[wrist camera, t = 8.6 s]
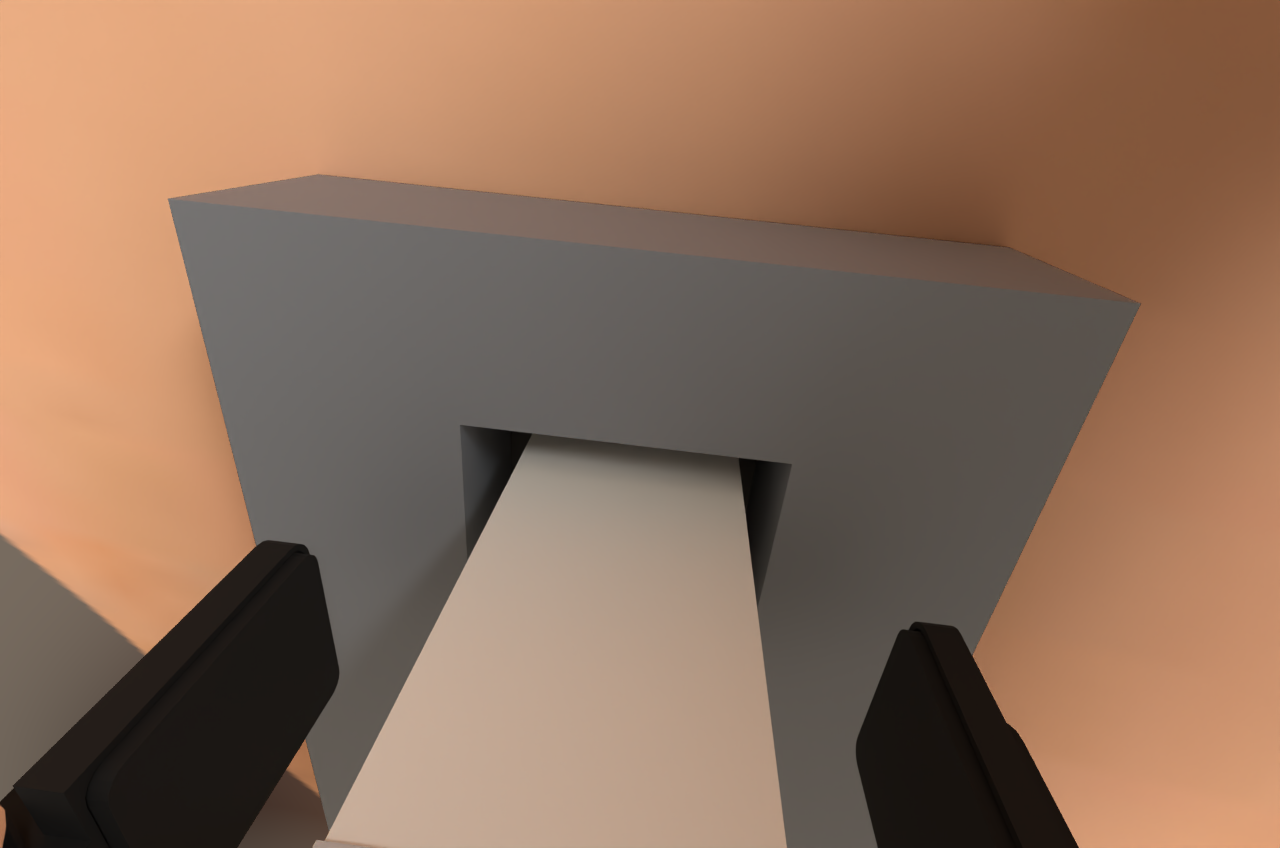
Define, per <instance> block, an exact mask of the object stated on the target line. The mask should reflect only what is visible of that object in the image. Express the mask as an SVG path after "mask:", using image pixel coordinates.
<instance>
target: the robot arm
mask: <svg viewBox="0 0 1280 848" xmlns="http://www.w3.org/2000/svg"><path fill="white" fill-rule="evenodd" d="M339 673H340V672H339V665H338V660H337V655H336V650H335V645H334V640H333V635H332V630H331V624H330V619H329V614H328V609H327V604H326V599H325V594H324V589H323V584H322V579H321V574H320V569H319V564H318V560H317V558H316V557H315V556H314V555H310V553H309V550H308V548H307V547H306V546H305V545H303V544H297V543H289V542H281V541H273V540H266V541H262V542H261V543H260V544H258V545H257V546H256V547H255V548H254V549H253V550H252V551H251V552H250V553H249V554H248V555H247V556H246V557H245V558H244V559H243V560H242V561H241V562H240V563H239V564H238V565H237V566H236V567H235V568H234V569H233V570H232V571H231V572H230V573H229V574H228V575H227V576H226V577H225V578H224V579H222V580H221V581H220V582H219V583H218V584H217V585H216V586H215V587H214V588H213V589H212V590H211V591H210V592H209V593H208V594H207V595H206V596H205V597H204V598H203V599H202V600H201V601H200V602H199V603H198V604H197V605H196V606H195V607H194V608H193V609H192V610H191V611H190V612H189V613H188V614H187V615H186V616H185V617H184V618H183V619H182V620H181V621H180V622H179V623H178V624H177V625H176V626H175V627H174V628H173V629H172V630H171V631H170V632H169V633H168V634H167V635H166V636H165V637H164V638H163V639H162V640H161V641H159V642H158V643H157V644H156V645H155V646H154V647H153V648H152V649H151V650H150V651H149V652H148V653H147V654H146V655H145V656H144V657H143V658H142V659H141V660H140V661H139V662H138V663H137V664H136V665H135V666H134V667H133V668H132V669H131V670H130V671H129V672H128V673H127V674H126V675H125V676H124V677H123V678H122V679H121V680H120V681H119V682H118V683H117V684H116V685H115V686H114V687H113V688H112V689H111V690H110V691H109V692H108V693H107V694H106V695H105V696H104V697H103V698H102V699H101V700H100V701H99V702H98V703H97V704H96V705H95V706H94V707H92V708H91V710H89V711H88V712H87V713H86V714H85V715H84V716H83V717H82V718H81V719H80V720H79V721H78V722H77V724H75V725H74V726H73V727H72V728H71V729H70V730H69V731H68V732H67V733H66V734H65V735H64V736H63V737H62V738H61V739H60V740H59V741H58V742H57V743H56V744H55V745H54V746H53V747H52V748H51V749H50V750H49V751H48V752H47V753H46V754H45V755H44V756H43V757H42V758H41V759H40V760H39V761H38V762H37V763H36V764H35V765H33V766H32V768H31V769H29V770H28V771H27V772H26V773H25V774H24V775H23V776H22V777H21V779H19V780H18V781H17V782H16V783H15V784H14V785H13V787H14V789H13V790H12V791H11V792H10V793H8V794H7V796H6V797H4V799H2V800H1V802H0V848H237V847H238V846H239V844H240V842H241V841H242V839H243V838H244V836H245V834H246V833H247V831H248V830H249V828H250V826H251V825H252V823H253V822H254V820H255V818H256V816H257V815H258V814H259V812H260V810H261V809H262V807H263V806H264V804H265V802H266V801H267V799H268V798H269V796H270V794H271V793H272V791H273V790H274V788H275V786H276V785H277V783H278V781H279V780H280V778H281V777H282V775H283V773H284V772H285V770H286V769H287V767H288V766H289V764H290V762H291V761H292V759H293V758H294V756H295V754H296V753H297V751H298V750H299V748H300V746H301V745H302V743H303V742H304V740H305V738H306V737H307V735H308V734H309V732H310V730H311V729H312V727H313V726H314V724H315V722H316V721H317V719H318V718H319V716H320V714H321V713H322V711H323V710H324V708H325V706H326V705H327V703H328V702H329V700H330V698H331V697H332V695H333V693H334V691H335V689H336V687H337V684H338V680H339ZM856 761H857V766H858V770H859V774H860V778H861V782H862V786H863V791H864V795H865V799H866V803H867V807H868V811H869V815H870V819H871V823H872V827H873V831H874V835H875V839H876V843H877V847H878V848H1079V847H1078V845H1077V843H1076V841H1075V839H1074V837H1073V836H1072V834H1071V832H1070V830H1069V828H1068V826H1067V824H1066V822H1065V820H1064V818H1063V816H1062V814H1061V813H1060V811H1059V809H1058V807H1057V805H1056V803H1055V801H1054V799H1053V797H1052V795H1051V793H1050V792H1049V790H1048V788H1047V786H1046V784H1045V782H1044V780H1043V778H1042V776H1041V774H1040V772H1039V770H1038V769H1037V767H1036V765H1035V763H1034V761H1033V759H1032V757H1031V755H1030V753H1029V751H1028V749H1027V747H1026V746H1025V744H1024V742H1023V740H1022V739H1021V737H1020V736H1019V734H1018V733H1017V731H1016V730H1015V729H1014V728H1012V727H1011V726H1010V725H1009V724H1007V723H1006V721H1005V719H1004V717H1003V715H1002V713H1001V711H1000V709H999V707H998V706H997V704H996V702H995V700H994V698H993V696H992V694H991V692H990V690H989V688H988V686H987V684H986V682H985V680H984V678H983V676H982V674H981V672H980V670H979V668H978V666H977V664H976V662H975V660H974V658H973V656H972V655H971V653H970V651H969V649H968V647H967V645H966V643H965V641H964V639H963V637H962V635H961V633H960V632H959V630H958V629H957V628H955V627H954V626H950V625H942V624H934V623H926V622H914V623H913V624H911V626H910V628H909V630H905V629H902V630H900V631H899V633H898V635H897V637H896V640H895V642H894V645H893V648H892V650H891V653H890V655H889V658H888V660H887V663H886V665H885V668H884V671H883V673H882V676H881V678H880V681H879V683H878V686H877V688H876V691H875V694H874V696H873V699H872V701H871V704H870V706H869V709H868V711H867V714H866V717H865V719H864V722H863V724H862V727H861V729H860V732H859V734H858V737H857V741H856Z"/></svg>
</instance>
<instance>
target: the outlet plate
mask: <svg viewBox="0 0 1280 848" xmlns="http://www.w3.org/2000/svg"><path fill="white" fill-rule="evenodd" d="M168 201H169V205H170V209H171V213H172V217H173V221H174V224H175V228H176V232H177V236H178V240H179V244H180V248H181V252H182V256H183V260H184V264H185V268H186V272H187V276H188V279H189V283H190V287H191V291H192V295H193V299H194V303H195V307H196V311H197V315H198V319H199V323H200V327H201V331H202V334H203V338H204V342H205V346H206V350H207V354H208V358H209V362H210V366H211V370H212V374H213V378H214V382H215V386H216V390H217V393H218V397H219V401H220V405H221V409H222V413H223V417H224V421H225V425H226V429H227V433H228V437H229V441H230V445H231V448H232V452H233V456H234V460H235V464H236V468H237V472H238V476H239V480H240V484H241V488H242V492H243V496H244V500H245V503H246V507H247V511H248V515H249V519H250V523H251V527H252V531H253V535H254V539H255V543H256V546H257V545H258V544H260V543H261V542H262V541H266V540H273V541H281V542H289V543H297V544H303V545H305V546H306V547H307V548H308V550H309V553H310V555H314V556H315V557H316V558H317V560H318V564H319V569H320V574H321V579H322V584H323V589H324V594H325V599H326V604H327V609H328V614H329V619H330V624H331V630H332V635H333V640H334V645H335V650H336V655H337V660H338V665H339V672H340V673H339V680H338V684H337V687H336V689H335V691H334V693H333V695H332V697H331V698H330V700H329V702H328V703H327V705H326V706H325V708H324V710H323V711H322V713H321V714H320V716H319V718H318V719H317V721H316V722H315V724H314V726H313V727H312V729H311V730H310V732H309V734H308V735H307V737H306V738H305V739H306V743H307V747H308V751H309V755H310V759H311V763H312V767H313V771H314V775H315V778H316V782H317V786H318V790H319V794H320V798H321V802H322V806H323V810H324V814H325V818H326V822H327V825H328V830H329V831H330V829H331V827H332V825H333V823H334V821H335V819H336V818H337V816H338V814H339V812H340V810H341V808H342V806H343V804H344V802H345V800H346V798H347V796H348V794H349V792H350V790H351V788H352V786H353V784H354V782H355V780H356V778H357V776H358V774H359V772H360V771H361V769H362V767H363V765H364V763H365V761H366V759H367V757H368V755H369V753H370V751H371V749H372V747H373V745H374V743H375V741H376V739H377V737H378V735H379V733H380V731H381V729H382V727H383V725H384V723H385V722H386V720H387V718H388V716H389V714H390V712H391V710H392V708H393V706H394V704H395V702H396V700H397V698H398V696H399V694H400V692H401V690H402V688H403V686H404V684H405V682H406V680H407V678H408V676H409V675H410V673H411V671H412V669H413V667H414V665H415V663H416V661H417V659H418V657H419V655H420V653H421V651H422V649H423V647H424V645H425V643H426V641H427V639H428V637H429V635H430V633H431V631H432V629H433V628H434V626H435V624H436V622H437V620H438V618H439V616H440V614H441V612H442V610H443V608H444V606H445V604H446V602H447V600H448V598H449V596H450V594H451V592H452V590H453V588H454V586H455V584H456V582H457V581H458V579H459V577H460V575H461V573H462V571H463V569H464V567H465V565H466V563H467V561H468V559H469V557H470V555H471V553H472V551H473V549H474V547H475V545H476V543H477V541H478V539H479V537H480V535H481V533H482V532H483V530H484V528H485V526H486V524H487V522H488V520H489V518H490V516H491V514H492V512H493V510H494V508H495V506H496V504H497V502H498V500H499V498H500V496H501V494H502V492H503V490H504V488H505V486H506V485H507V483H508V481H509V479H510V477H511V475H512V473H513V471H514V469H515V467H516V465H517V463H518V461H519V459H520V457H521V455H522V453H523V451H524V449H525V447H526V445H527V443H528V441H529V439H530V438H531V436H532V434H533V433H534V434H542V435H551V436H559V437H568V438H576V439H585V440H593V441H601V442H610V443H618V444H627V445H635V446H644V447H652V448H661V449H669V450H678V451H686V452H694V453H703V454H711V455H720V456H728V457H737V458H739V466H740V474H741V482H742V490H743V498H744V506H745V514H746V522H747V530H748V538H749V547H750V555H751V563H752V571H753V579H754V587H755V595H756V603H757V611H758V619H759V627H760V635H761V643H762V651H763V659H764V668H765V676H766V684H767V692H768V700H769V708H770V716H771V724H772V732H773V740H774V748H775V756H776V764H777V772H778V780H779V789H780V797H781V805H782V813H783V821H784V829H785V837H786V845H787V848H878V847H877V843H876V839H875V835H874V831H873V827H872V823H871V819H870V815H869V811H868V807H867V803H866V799H865V795H864V791H863V786H862V782H861V778H860V774H859V770H858V766H857V761H856V741H857V737H858V734H859V732H860V729H861V727H862V724H863V722H864V719H865V717H866V714H867V711H868V709H869V706H870V704H871V701H872V699H873V696H874V694H875V691H876V688H877V686H878V683H879V681H880V678H881V676H882V673H883V671H884V668H885V665H886V663H887V660H888V658H889V655H890V653H891V650H892V648H893V645H894V642H895V640H896V637H897V635H898V633H899V631H900V630H902V629H905V630H909V628H910V626H911V624H913V623H914V622H926V623H934V624H942V625H950V626H954V627H955V628H957V629H958V630H959V632H960V633H961V635H962V637H963V639H964V641H965V643H966V645H967V647H968V649H969V651H970V653H971V655H973V653H974V651H975V649H976V646H977V644H978V642H979V640H980V638H981V636H982V634H983V632H984V630H985V628H986V626H987V624H988V621H989V619H990V617H991V615H992V613H993V611H994V609H995V607H996V605H997V603H998V601H999V599H1000V596H1001V594H1002V592H1003V590H1004V588H1005V586H1006V584H1007V582H1008V580H1009V578H1010V576H1011V573H1012V571H1013V569H1014V567H1015V565H1016V563H1017V561H1018V559H1019V557H1020V555H1021V553H1022V551H1023V548H1024V546H1025V544H1026V542H1027V540H1028V538H1029V536H1030V534H1031V532H1032V530H1033V528H1034V526H1035V523H1036V521H1037V519H1038V517H1039V515H1040V513H1041V511H1042V509H1043V507H1044V505H1045V503H1046V501H1047V498H1048V496H1049V494H1050V492H1051V490H1052V488H1053V486H1054V484H1055V482H1056V480H1057V478H1058V475H1059V473H1060V471H1061V469H1062V467H1063V465H1064V463H1065V461H1066V459H1067V457H1068V455H1069V453H1070V450H1071V448H1072V446H1073V444H1074V442H1075V440H1076V438H1077V436H1078V434H1079V432H1080V430H1081V428H1082V425H1083V423H1084V421H1085V419H1086V417H1087V415H1088V413H1089V411H1090V409H1091V407H1092V405H1093V402H1094V400H1095V398H1096V396H1097V394H1098V392H1099V390H1100V388H1101V386H1102V384H1103V382H1104V380H1105V377H1106V375H1107V373H1108V371H1109V369H1110V367H1111V365H1112V363H1113V361H1114V359H1115V357H1116V355H1117V352H1118V350H1119V348H1120V346H1121V344H1122V342H1123V340H1124V338H1125V336H1126V334H1127V332H1128V330H1129V327H1130V325H1131V323H1132V321H1133V319H1134V317H1135V315H1136V313H1137V311H1138V309H1139V307H1140V304H1141V303H1138V302H1136V301H1134V300H1131V299H1129V298H1126V297H1124V296H1122V295H1119V294H1117V293H1115V292H1112V291H1110V290H1108V289H1105V288H1103V287H1101V286H1098V285H1096V284H1094V283H1091V282H1089V281H1087V280H1084V279H1082V278H1080V277H1077V276H1075V275H1073V274H1070V273H1068V272H1066V271H1063V270H1061V269H1059V268H1056V267H1054V266H1052V265H1049V264H1047V263H1045V262H1042V261H1040V260H1037V259H1035V258H1033V257H1030V256H1028V255H1026V254H1023V253H1021V252H1019V251H1016V250H1014V249H1012V248H1009V247H1000V246H990V245H981V244H971V243H962V242H953V241H943V240H934V239H924V238H915V237H905V236H896V235H886V234H877V233H867V232H858V231H848V230H839V229H829V228H820V227H811V226H801V225H792V224H782V223H773V222H763V221H754V220H744V219H735V218H725V217H716V216H706V215H697V214H688V213H678V212H669V211H659V210H650V209H640V208H631V207H621V206H612V205H602V204H593V203H583V202H574V201H564V200H555V199H546V198H536V197H527V196H517V195H508V194H498V193H489V192H479V191H470V190H460V189H451V188H441V187H432V186H422V185H413V184H404V183H394V182H385V181H375V180H366V179H356V178H347V177H337V176H328V175H312V176H306V177H300V178H294V179H287V180H281V181H275V182H269V183H263V184H256V185H250V186H244V187H238V188H232V189H225V190H219V191H213V192H207V193H200V194H194V195H188V196H182V197H176V198H169V199H168Z"/></svg>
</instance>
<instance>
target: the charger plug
mask: <svg viewBox="0 0 1280 848" xmlns="http://www.w3.org/2000/svg"><path fill="white" fill-rule="evenodd" d="M312 848H787V845H786V837H785V829H784V821H783V813H782V805H781V797H780V789H779V780H778V772H777V764H776V756H775V748H774V740H773V732H772V724H771V716H770V708H769V700H768V692H767V684H766V676H765V668H764V659H763V651H762V643H761V635H760V627H759V619H758V611H757V603H756V595H755V587H754V579H753V571H752V563H751V555H750V547H749V538H748V530H747V522H746V514H745V506H744V498H743V490H742V482H741V474H740V466H739V458H737V457H728V456H720V455H711V454H703V453H694V452H686V451H678V450H669V449H661V448H652V447H644V446H635V445H627V444H618V443H610V442H601V441H593V440H585V439H576V438H568V437H559V436H551V435H542V434H534V433H533V434H532V436H531V438H530V439H529V441H528V443H527V445H526V447H525V449H524V451H523V453H522V455H521V457H520V459H519V461H518V463H517V465H516V467H515V469H514V471H513V473H512V475H511V477H510V479H509V481H508V483H507V485H506V486H505V488H504V490H503V492H502V494H501V496H500V498H499V500H498V502H497V504H496V506H495V508H494V510H493V512H492V514H491V516H490V518H489V520H488V522H487V524H486V526H485V528H484V530H483V532H482V533H481V535H480V537H479V539H478V541H477V543H476V545H475V547H474V549H473V551H472V553H471V555H470V557H469V559H468V561H467V563H466V565H465V567H464V569H463V571H462V573H461V575H460V577H459V579H458V581H457V582H456V584H455V586H454V588H453V590H452V592H451V594H450V596H449V598H448V600H447V602H446V604H445V606H444V608H443V610H442V612H441V614H440V616H439V618H438V620H437V622H436V624H435V626H434V628H433V629H432V631H431V633H430V635H429V637H428V639H427V641H426V643H425V645H424V647H423V649H422V651H421V653H420V655H419V657H418V659H417V661H416V663H415V665H414V667H413V669H412V671H411V673H410V675H409V676H408V678H407V680H406V682H405V684H404V686H403V688H402V690H401V692H400V694H399V696H398V698H397V700H396V702H395V704H394V706H393V708H392V710H391V712H390V714H389V716H388V718H387V720H386V722H385V723H384V725H383V727H382V729H381V731H380V733H379V735H378V737H377V739H376V741H375V743H374V745H373V747H372V749H371V751H370V753H369V755H368V757H367V759H366V761H365V763H364V765H363V767H362V769H361V771H360V772H359V774H358V776H357V778H356V780H355V782H354V784H353V786H352V788H351V790H350V792H349V794H348V796H347V798H346V800H345V802H344V804H343V806H342V808H341V810H340V812H339V814H338V816H337V818H336V819H335V821H334V823H333V825H332V827H331V829H330V831H329V833H328V835H327V837H326V839H325V841H320V840H316V842H315V843H314V845H313V847H312Z"/></svg>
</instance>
